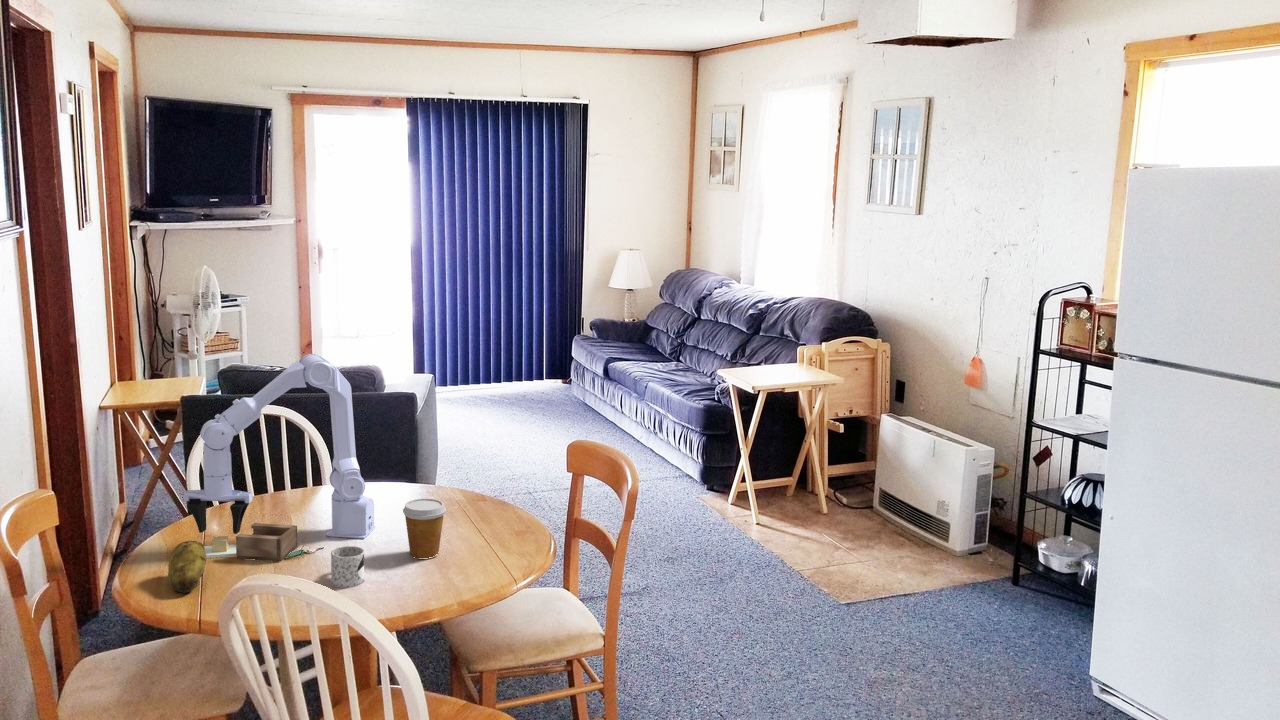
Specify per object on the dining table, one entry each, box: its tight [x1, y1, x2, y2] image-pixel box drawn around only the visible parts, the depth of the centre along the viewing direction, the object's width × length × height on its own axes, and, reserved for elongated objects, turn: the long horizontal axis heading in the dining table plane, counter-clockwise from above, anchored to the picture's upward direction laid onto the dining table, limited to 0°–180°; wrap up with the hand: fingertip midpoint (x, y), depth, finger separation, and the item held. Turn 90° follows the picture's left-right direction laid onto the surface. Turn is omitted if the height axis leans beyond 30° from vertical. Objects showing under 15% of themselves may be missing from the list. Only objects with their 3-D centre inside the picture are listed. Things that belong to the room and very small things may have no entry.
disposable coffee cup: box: [402, 498, 447, 559], centre depth 219 cm, size 10×10×12 cm
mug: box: [330, 545, 365, 589], centre depth 204 cm, size 10×7×7 cm
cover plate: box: [203, 535, 236, 559], centre depth 216 cm, size 8×6×4 cm
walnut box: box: [235, 522, 298, 563], centre depth 216 cm, size 10×9×5 cm
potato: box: [167, 540, 207, 594], centre depth 198 cm, size 8×13×8 cm, turn 3°
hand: (219, 531), depth 217 cm, fingers open, 7 cm apart
